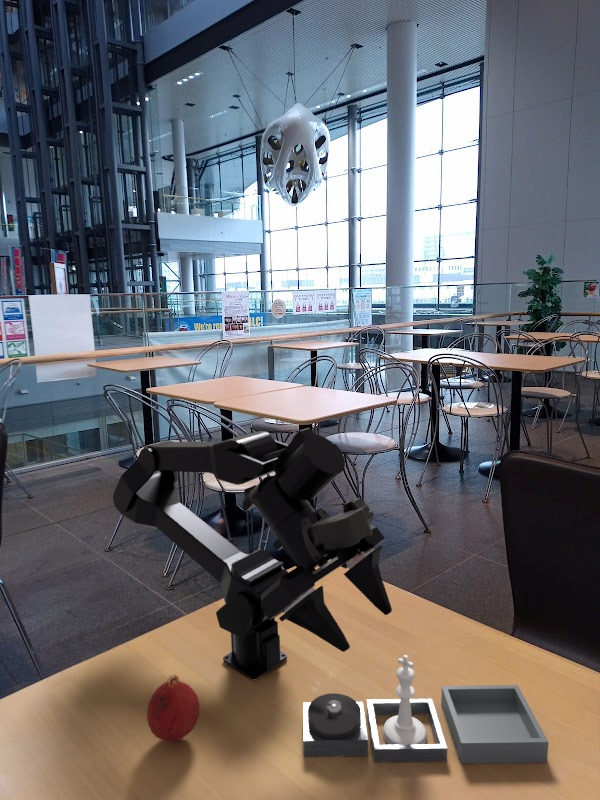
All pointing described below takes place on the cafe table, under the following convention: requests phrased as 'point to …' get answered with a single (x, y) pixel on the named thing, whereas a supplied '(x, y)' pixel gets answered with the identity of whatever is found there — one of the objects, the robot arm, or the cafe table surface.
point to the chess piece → (404, 712)
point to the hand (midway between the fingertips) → (369, 630)
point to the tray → (493, 725)
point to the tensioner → (364, 729)
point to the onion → (173, 710)
